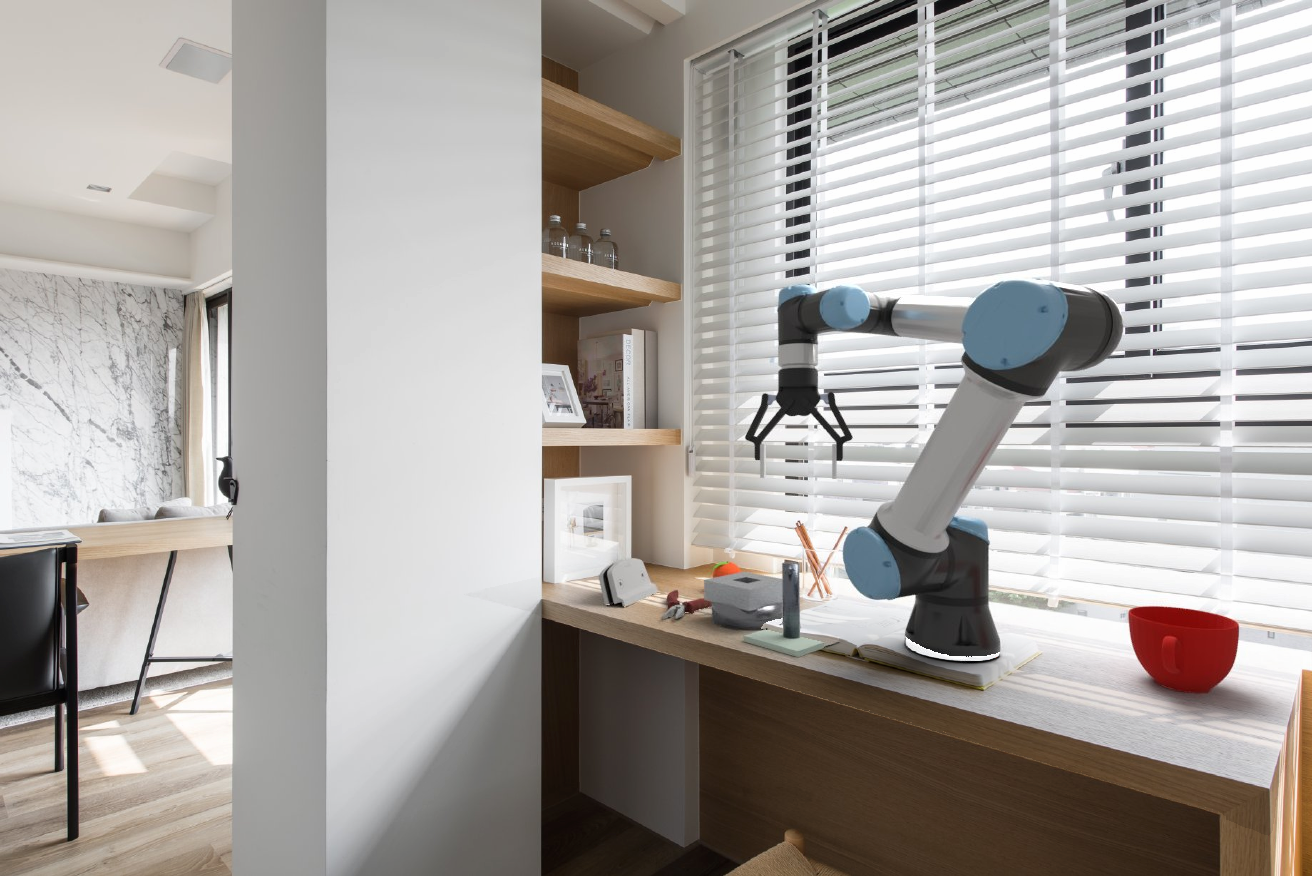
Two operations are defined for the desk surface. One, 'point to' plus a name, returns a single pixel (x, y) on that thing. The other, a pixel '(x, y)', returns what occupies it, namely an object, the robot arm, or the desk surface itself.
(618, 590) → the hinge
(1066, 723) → the desk surface
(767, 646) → the sage mat
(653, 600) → the desk surface
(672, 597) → the pliers
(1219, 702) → the desk surface
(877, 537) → the robot arm
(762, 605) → the chuck block
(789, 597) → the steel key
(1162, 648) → the ceramic cup
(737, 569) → the clementine
